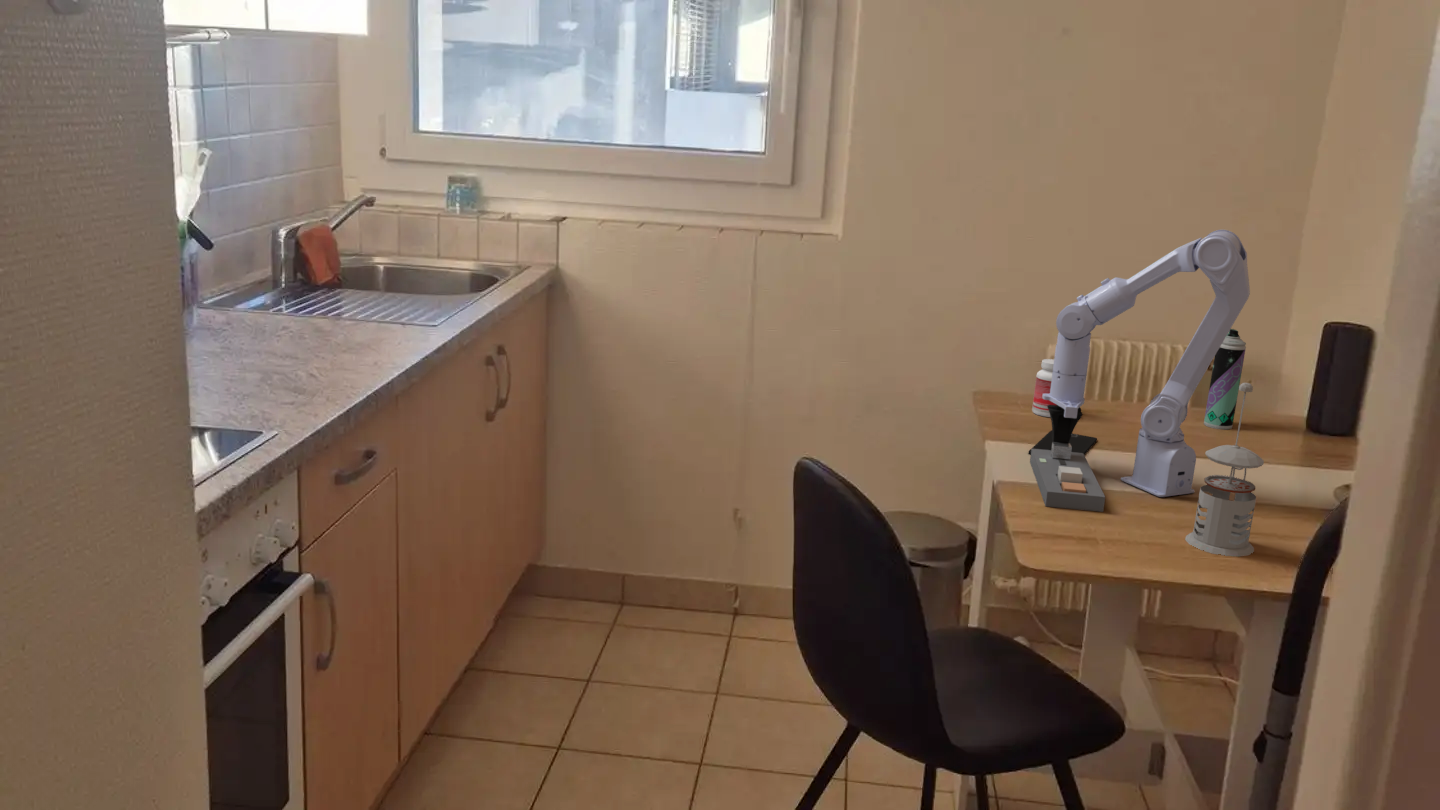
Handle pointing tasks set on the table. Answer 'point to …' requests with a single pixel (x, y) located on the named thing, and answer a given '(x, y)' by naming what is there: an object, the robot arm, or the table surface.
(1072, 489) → the orange button
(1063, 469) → the grey button
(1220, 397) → the spray can
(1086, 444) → the cell phone
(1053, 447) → the toggle knob
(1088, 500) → the switch panel
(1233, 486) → the french press
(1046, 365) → the pill bottle
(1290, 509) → the table surface
